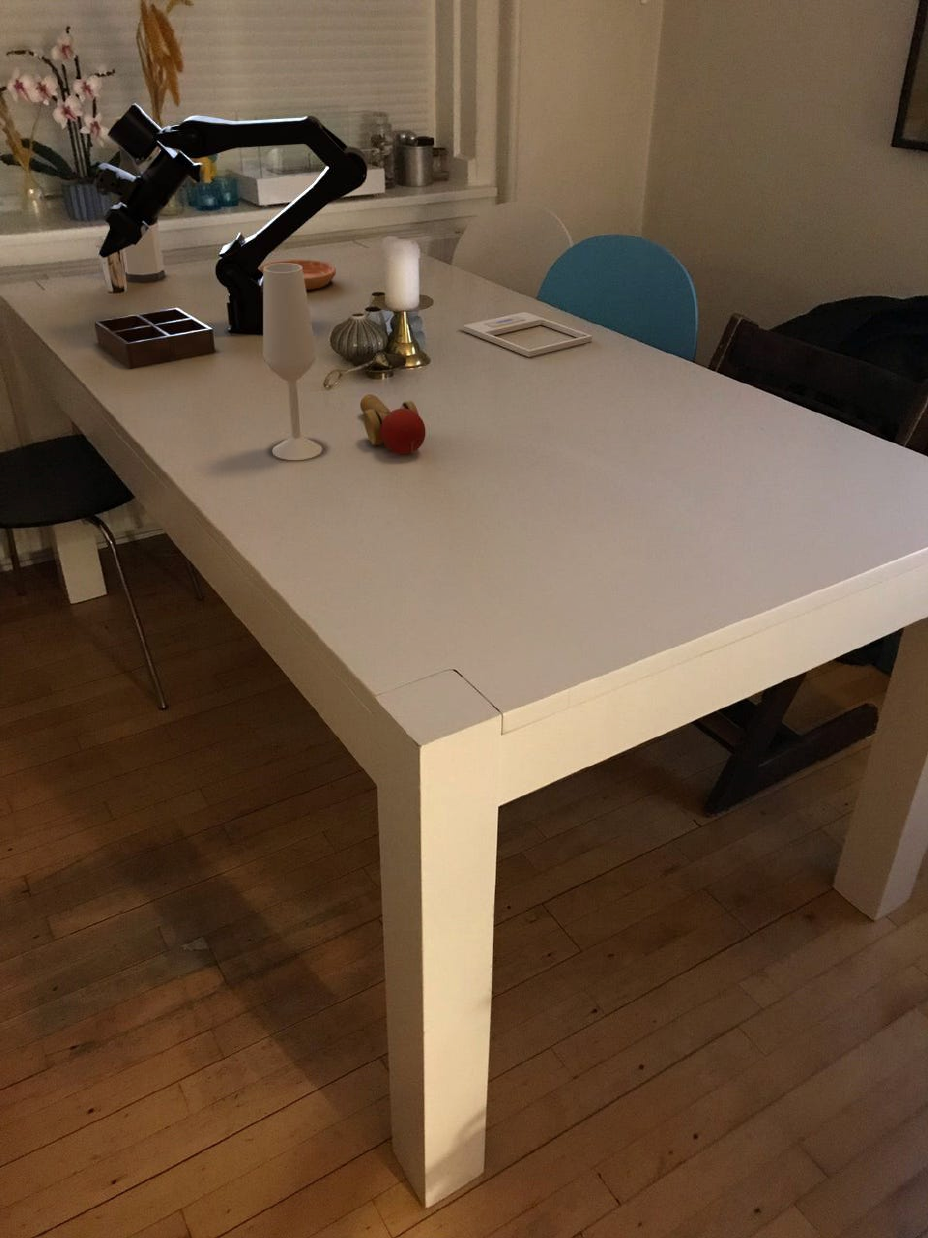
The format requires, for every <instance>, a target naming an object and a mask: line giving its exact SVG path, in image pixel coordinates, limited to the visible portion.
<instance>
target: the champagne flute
mask: <svg viewBox="0 0 928 1238" xmlns="http://www.w3.org/2000/svg"><path fill="white" fill-rule="evenodd" d="M262 291H263V334H262V339H263V340H262V357H263V359H264V360H263V361H264V362H265V364H266V365H267V367H268V368H269V369H270V370H271V371H272V372H273V373H274V374H275V375H277V376H278V377H279V378H280V379H282V380H284V381H286V382H287V394H288V395H287V396H288V408H289V420H290V431H291V437H289V438H287V439H285V440H284V441H282V442H280V443H279V444H277V445H275V446H273V448H272V450H271V451H272V454H273V456H274V457H276V458H279V459H283V460H287V461H302V460H308V459H312V458H314V457H317V456H318V455H320V454H321V453H322V451H323V447H322V446H321V445H320V444H318V443H317V442H315V441H312V440H311V439H308V438H306V437H303V436H301V424H300V410H299V397H298V386H297V385H298V384H297V383H298V382H297V381H298V380H301V379H302V378H303V377H304V375H306V374H307V372H309V370H311V368H312V367H313V365H314V364H315V361H316V358H317V350H316V344H315V338H314V331H313V325H312V320H311V313H310V307H309V300H308V295H307V294H308V293H307V290H306V287H305V281H304V275H303V269H302V266H300V265H298V264H292V263H277V264H271V265H267V266H265V267H264V268H263V289H262Z"/></svg>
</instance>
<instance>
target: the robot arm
mask: <svg viewBox="0 0 928 1238" xmlns="http://www.w3.org/2000/svg"><path fill="white" fill-rule="evenodd" d="M120 117H121V118H120V119H119V120H117V121H116V120H115V123H114V124H113V125H112V126H111V128H110V130H109V131H108V133H107V137H108V138H110V140H112V141H113V142H114V143H115V144H116V145H117V146H118V147H119V146H120V147H121V148H122V149H123V150H124V151H125V152H126V153H127V154H129V155H130V156H131V157H132V158H133V159H134V161H135V162H137V161H142V160H143V161H144V162H147V161H148V160H149V159H150V158H151V157H152V156H153V154H154V153H155V152H156V150H157V149H158V148H159V149H160V150H159V152H157V154H156V155H155V157H154V158H153V160H152V161H151V162H150V163H149V164H148V166H147V167H146V168H145V170H144V171H143V172H142V171H141V173H140V174H139V176H137V177H135V176H133V175H131V174H129V173H127V172H125V171H123V170H121V169H118V168H119V167H116V166H114V165H111V164H109V163H106V162H102V163H100V164H99V165H98V166H97V169H96V173H95V174H94V181H93V184H92V185H93V186H94V187H96V189H97V188H98V189H99V190H105V191H108V192H109V193H111V194H113V193H114V194H116V195H119V196H121V197H120V198H119V201H120V202H122V203H123V204H122V203H119V204H118V205H114V206H113V205H112V206H111V207H110V208H109V209H108V210H107V212H106V213H105V215H104V216H103V220H104V221H105V222H106V223H107V224H108V226H109V229H108V232H107V233H106V236H105V237H106V238H105V241H104V243H103V245H102V247H101V250H100V252H99V255H100V256H102V257H103V258H106V257H108V256H110V255H112V254H114V253H116V252H118V251H120V250H122V249H124V248H126V247H128V246H130V245H133V244H134V245H136V244H137V243H138V242H139V241H140V239H141V238H142V237H143V236H144V234H145V233H146V231H147V230H148V229H149V226H150V225H153V224H154V222H155V221H156V220H157V221H158V219H159V217H161V215H162V211H163V210H164V209H165V207H166V206H167V205H168V204H169V202H170V201H171V200H172V199H173V197H174V196H175V195H176V194H177V192H178V191H179V190H180V189H181V187H182V186H183V185H184V184H185V183H186V181H187V180H188V179H189V177H190V178H191V179H192V180H194V181H195V182H196V183H197V184H200V183H201V182H202V181H203V179H204V175H203V163H202V162H197V163H196V162H193V161H192V160H191V159H195V160H199V159H202V158H206V157H211V156H214V155H218V154H221V153H224V152H227V151H230V150H235V149H244V148H259V147H260V148H261V147H279V146H295V145H304V146H306V147H308V148H309V149H310V150H311V151H312V153H313V154H314V155H315V156H316V157H317V158H318V159H319V160H320V161H321V162H322V163H323V164H324V165H325V168H324V169H323V171H322V172H321V173H320V174H319V176H318V177H317V178H316V180H315V181H314V183H312V184H311V185H310V186H309V187H308V188H307V189H305V190H304V191H303V192H302V193H300V194H299V195H298V196H297V197H296V198H295V199H294V200H293V201H292V202H290V203H289V204H288V205H287V206H286V207H285V208H283V210H281V211H280V212H279V213H278V214H277V215H275V216H274V217H273V218H272V219H271V220H270V221H268V222H267V223H266V224H265V225H263V227H262V228H260V230H258V231H257V232H256V233H254V234H253V235H251V236H248V237H244V236H243V234H242V232H238V234H237V235H236V237H235V238H234V239H233V240H232V241H231V242H229V243H228V244H225V245H223V247H222V249H221V250H220V252H219V253H218V257H219V259H218V260H217V262H216V265H215V266H214V267H215V268H214V271H215V276H216V279H217V281H218V282H219V284H220V285H222V287H225V288H226V290H227V292H228V301H227V302H226V309H227V310H226V311H227V318H228V325H229V326H230V327H229V328H228V332H230V333H241V334H242V333H243V334H244V333H245V334H259V335H263V272H262V271H261V270H259V269H258V268H259V267H261V266H262V264H263V262H264V261H265V259H266V258H267V257H268V256H269V255H270V254H272V252H274V251H275V249H277V248H278V247H279V246H281V244H283V243H284V242H285V241H286V240H287V239H288V238H290V237H291V236H293V235H294V233H296V232H297V231H298V230H299V229H300V228H301V227H303V226H304V225H305V224H306V223H308V221H310V220H311V219H312V218H313V217H314V216H315V215H316V214H318V213H319V212H320V211H321V210H323V209H324V208H325V207H326V206H327V205H328V204H330V203H332V202H335V201H337V200H338V199H341V198H343V197H345V196H347V195H348V194H350V193H353V192H354V191H356V190H357V189H359V188H360V187H362V186H363V184H364V183H366V180H367V177H368V168H369V167H368V166H369V164H368V163H369V162H368V158H367V157H366V155H365V153H364V152H363V151H362V150H361V149H359V148H357V147H355V146H348V145H347V144H346V142H344V141H343V140H342V139H341V138H340V137H339V136H337V135H336V134H335V133H333V132H332V131H331V130H330V129H328V128H327V127H326V126H325V125H324V124H323V123H322V121H320V120H319V118H318V117H315V116H314V115H305V116H303V117H289V118H277V119H276V118H274V119H273V118H272V119H270V118H269V119H256V120H255V119H253V120H239V121H237V120H236V121H235V120H227V119H223V118H217V117H212V116H205V115H191V116H189V117H188V118H187V117H186V118H185V119H184V120H183V121H182V122H181V123H179V124H177V125H172V126H171V125H168V126H165V127H163V128H162V127H160V126H159V125H158V124H157V123H156V122H155V121H154V120H153V119H151V118H150V116H149V115H148V114H146V112H145V111H144V110H143V108H142V107H140V105H138V103H133V104H131V106H130V107H129V108H128V109H127V111H125V112H124V114H123V115H122V116H120ZM176 150H179V151H178V152H177V151H176ZM144 222H146V223H147V224H148V225H149V226H148V225H147V224H146V223H144Z"/></svg>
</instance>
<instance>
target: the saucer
mask: <svg viewBox="0 0 928 1238" xmlns="http://www.w3.org/2000/svg"><path fill="white" fill-rule="evenodd" d="M277 263H292V264H298V265H300V266H302V269H303V275H304V281H305V287H306V291H310V290H311V291H312V290H315V289H320V288H323V287H325V286H327V285H328V284H329V283H330V282H331V281H332V280H333V279H334V277H335V276H336V273H337V268H336V267H335V265H333V264H332V263H329V262H326V261H321V260H311V259H289V260H279V261H274V262H269V263H267V264H263V265H260V266H259V268H258V269H259V270H261V271H262V272H263V268H264V267H265V266H267V265H271V264H277Z"/></svg>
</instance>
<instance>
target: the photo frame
mask: <svg viewBox="0 0 928 1238" xmlns="http://www.w3.org/2000/svg"><path fill="white" fill-rule="evenodd" d="M540 325H542V326H545V327H547V328H549V329H553V330H555V331H558V332H561V333H563V334H566V335H569V336H572V337H575V338H572V339H568V340H564V341H559V342H556V343H555V342H554V343H552V344H548V345H543V346H540V347H536V348H531V349H528V348H526V347H524V346H520V345H518V344H516V343H513V342H510V341H508V340H506V339H503V338H500V337H498V336H497V335H502V334H506V333H509V332H514V331H519V330H523V329H528V328H531V327H536V326H540ZM462 331H463V332H465V333H467V334H469V335H474V336H475V337H478V338H480V339H483V340H485V341H488V342H491V343H493V344H495V345H498V346H501V347H503V348H505V349H508V350H510V351H513V352H515V353H517V354H521V355H523V356H525V357H527V358H530V357H535V356H539V355H543V354H547V353H550V352H551V353H552V352H554V351H555V352H556V351H559V350H562V349H566V348H567V349H568V348H570V347H575V346H580V345H582V344H583V345H584V344H586V343H590V342H593V335H591V334H588V333H585V332H583V331H580V330H577V329H574V328H571V327H569V326H566V325H563V324H561V323H558V322H554V321H552V320H549V319H546V318H543V317H541V316H538V315H535V314H532V313H529V312H527V311H523V312H518V313H514V314H510V315H504V316H500V317H496V318H491V319H486V320H482V321H476V322H473V323H469V324H464V325H462Z"/></svg>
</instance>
